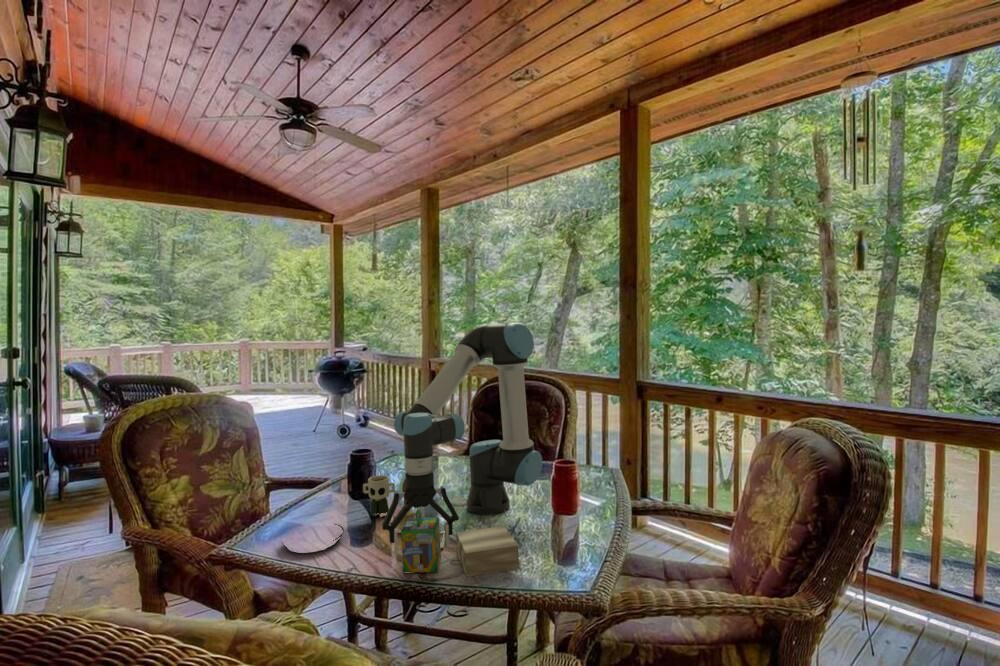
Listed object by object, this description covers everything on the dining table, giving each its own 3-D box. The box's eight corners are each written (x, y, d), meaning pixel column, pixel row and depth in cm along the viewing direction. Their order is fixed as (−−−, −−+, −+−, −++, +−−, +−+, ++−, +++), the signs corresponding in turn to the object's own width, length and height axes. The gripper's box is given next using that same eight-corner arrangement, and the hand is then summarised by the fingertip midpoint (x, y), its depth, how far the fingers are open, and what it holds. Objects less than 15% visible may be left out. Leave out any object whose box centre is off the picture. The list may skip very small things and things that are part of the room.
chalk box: (437, 573, 132) (435, 516, 132) (402, 574, 132) (400, 517, 132) (442, 557, 141) (440, 504, 141) (409, 558, 141) (407, 505, 141)
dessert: (446, 534, 158) (446, 519, 158) (443, 551, 146) (442, 535, 146) (408, 536, 158) (407, 521, 157) (401, 553, 146) (400, 537, 145)
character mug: (361, 520, 171) (359, 481, 171) (366, 512, 178) (365, 475, 178) (393, 519, 171) (392, 480, 171) (397, 511, 178) (396, 474, 178)
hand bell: (410, 522, 168) (408, 473, 168) (425, 528, 162) (423, 478, 162) (388, 529, 162) (386, 479, 162) (403, 536, 156) (401, 484, 156)
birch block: (456, 553, 143) (456, 532, 143) (504, 546, 146) (504, 525, 146) (466, 576, 129) (465, 553, 129) (519, 568, 133) (518, 545, 133)
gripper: (371, 480, 129) (374, 563, 129) (467, 470, 136) (470, 549, 136) (371, 472, 137) (373, 551, 137) (462, 463, 143) (465, 538, 143)
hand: (421, 550), depth 136 cm, fingers open, 13 cm apart
